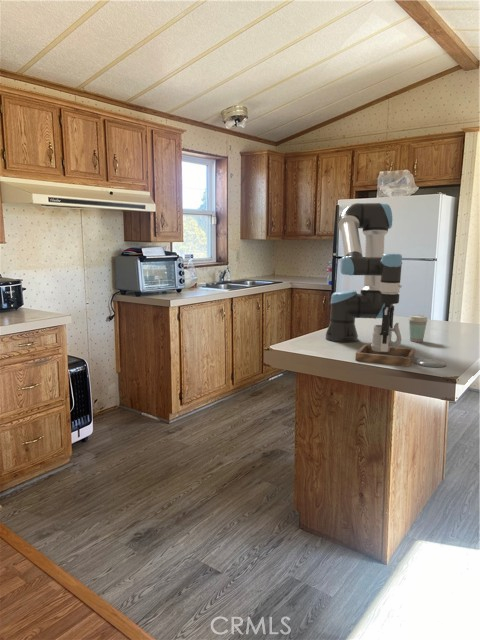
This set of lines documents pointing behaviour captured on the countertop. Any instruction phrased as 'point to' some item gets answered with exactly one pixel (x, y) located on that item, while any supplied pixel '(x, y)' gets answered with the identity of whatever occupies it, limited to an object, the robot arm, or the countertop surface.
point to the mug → (377, 338)
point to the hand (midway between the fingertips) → (385, 349)
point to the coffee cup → (417, 327)
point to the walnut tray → (384, 359)
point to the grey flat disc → (430, 363)
